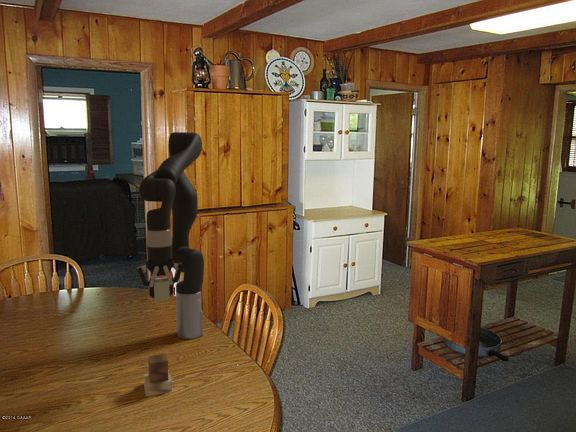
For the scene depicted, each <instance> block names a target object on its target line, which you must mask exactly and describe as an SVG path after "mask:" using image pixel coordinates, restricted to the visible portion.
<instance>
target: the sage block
mask: <svg viewBox="0 0 576 432" xmlns="http://www.w3.org/2000/svg"><path fill="white" fill-rule="evenodd" d="M153 286H154V298H153V300H154V302H162V301H163V302H164V301H170V299H171V298H170V297H171V296H170V290H169V280H168V279H167V277H166V276H163V277H156V279H155V281H154V285H153Z"/></svg>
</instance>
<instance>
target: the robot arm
mask: <svg viewBox="0 0 576 432" xmlns="http://www.w3.org/2000/svg"><path fill="white" fill-rule="evenodd" d="M202 149H203V140H202V138H201V135H200V134H199V133H196V132H192V131H191V132H189V131H185V132H184V131H181V132H179V131H174V132H171V133H170V134H169V137H168V156H169V157H167V158H165V160H163V161H162V162H161V163H160V165H159V166H158V167H157V169H156V170H154V171H152V172H151V173H150V174H148V175H146V176H145V177H144V178H143V179H142V180H141V181H140V183H139V187H138V193H139V196H140V198H141V199H142V200H143V201H145V202H150V203H151V202H153V203H154V202H155V203H157V202H158V203H161V205H160V207H158V208H153V209H149V210H148V211H147V212H146V254H147V256H146V258H147V259H146V260H147V261H146V263H145V264H144V265H138V266H137V271H138V274H139V276H140V277H139V278H140V280H141V283H142V285H143V286H144V287H148V294H149V297H151V298H152V299H154V286H153V285H154V281H155V279H156V278H157V277H160V276H163V277H167V279H168V280H169V290H170V297H172V295H173V294H174V284H175V297H176V299H175V306H176V307H175V308H176V336H177V337H178V338H180V339H183V340H191V339H196V338H199V337H202V336H204V310H202V286H203V282H204V273H205V271H204V270H205V259H204V254H203V253H202V252H201V251H200V250H198V249H194V248H190V232H191V229H192V227H193V224H194V223H195V221H196V218H197V217H198V216H197V215H198V213H199V211H198V209H199V207H198V204H199V203H198V202H199V201H198V198H199V197H198V193H197V190H196V189H195V188H194V186H193V184H192V183H191V181H190V179H188V177H187V175H186V172H185V170H186V169H187V168H189V166H190V165H192V164H193V162H195V161H196V160H197V159H198V158H199V157H200V156H201V153H202ZM171 215H172V216H171ZM171 221H172V225H171ZM171 226H172V227H171ZM172 269H174V270H175V272H174V275H173V277H172V276H171V274H170V272H171V271H172ZM146 270H148V271H149V272H150V275H149V280H147V278H146V276H145V273H146ZM182 273H183V279H182V280H181V281H180V278H181V274H182Z"/></svg>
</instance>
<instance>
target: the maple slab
mask: <svg viewBox="0 0 576 432" xmlns="http://www.w3.org/2000/svg"><path fill="white" fill-rule="evenodd" d="M143 375H144V383H145V387H146V392H147V395H151V396H153V395H152V394H157V395H159V394H158V393H162V394H165V393H164V392H168V393H171V392H170V391H172V389H173V380H172V377H171V374H170V372H169V370H168V380H167V381H161V382H155V383H150V378H149V373H145V374H143Z"/></svg>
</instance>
